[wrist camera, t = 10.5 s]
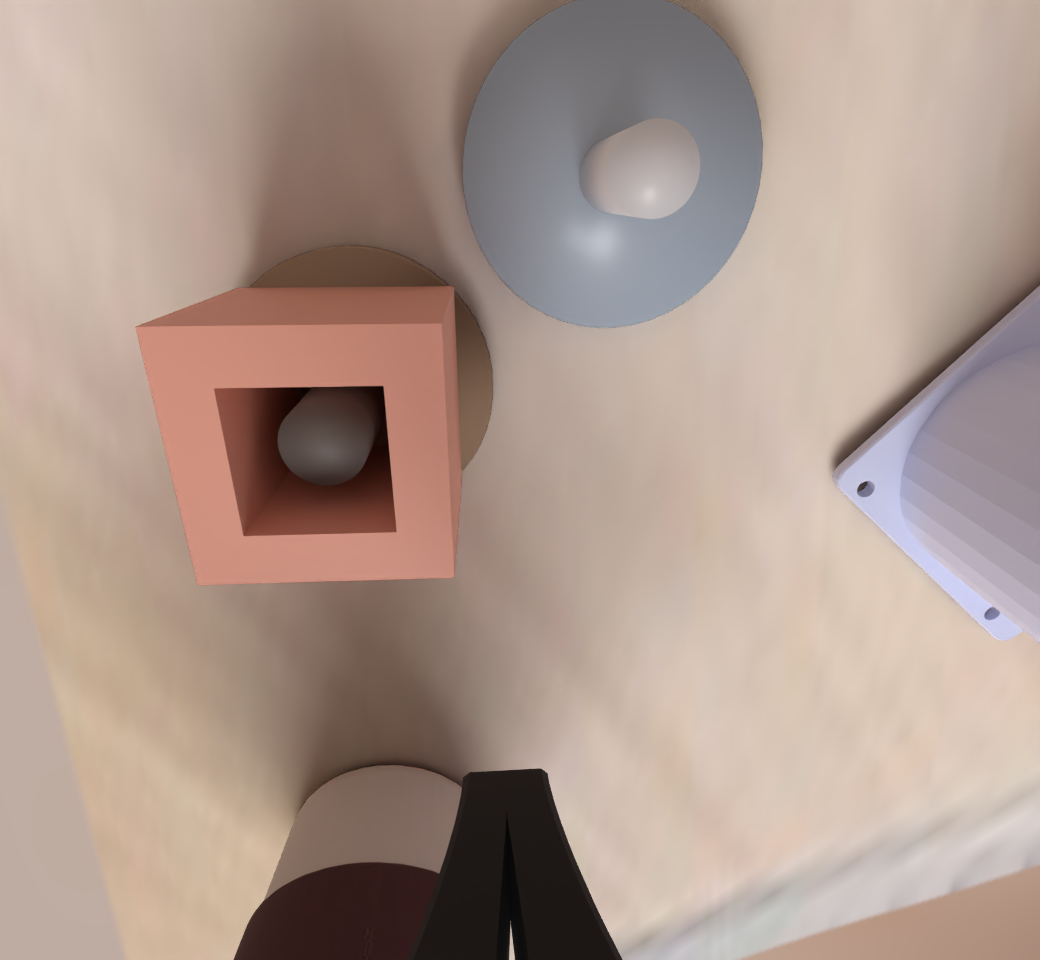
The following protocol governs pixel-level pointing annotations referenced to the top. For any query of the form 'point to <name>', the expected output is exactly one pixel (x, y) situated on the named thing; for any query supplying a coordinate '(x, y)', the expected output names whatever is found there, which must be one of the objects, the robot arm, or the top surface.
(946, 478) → the robot arm
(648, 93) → the stand
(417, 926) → the coffee cup
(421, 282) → the hub
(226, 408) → the salmon square tube
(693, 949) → the top surface
